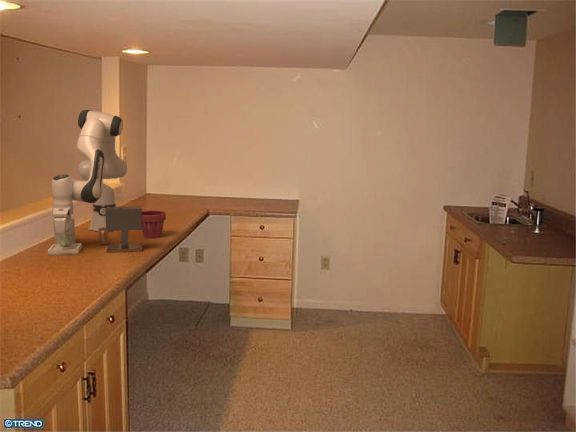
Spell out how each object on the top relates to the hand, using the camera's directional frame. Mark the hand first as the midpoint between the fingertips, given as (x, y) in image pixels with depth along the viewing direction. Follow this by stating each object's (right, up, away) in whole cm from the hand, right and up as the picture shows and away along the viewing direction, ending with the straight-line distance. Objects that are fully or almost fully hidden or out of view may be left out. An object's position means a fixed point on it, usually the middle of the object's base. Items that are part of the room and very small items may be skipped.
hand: (64, 239), depth 266 cm
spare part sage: (0, -3, +1) cm, 3 cm away
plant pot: (+33, 0, +35) cm, 48 cm away
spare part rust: (+13, -3, +16) cm, 21 cm away
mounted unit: (+26, -5, +6) cm, 28 cm away
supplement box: (-7, -3, +18) cm, 19 cm away
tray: (0, -6, +1) cm, 6 cm away
